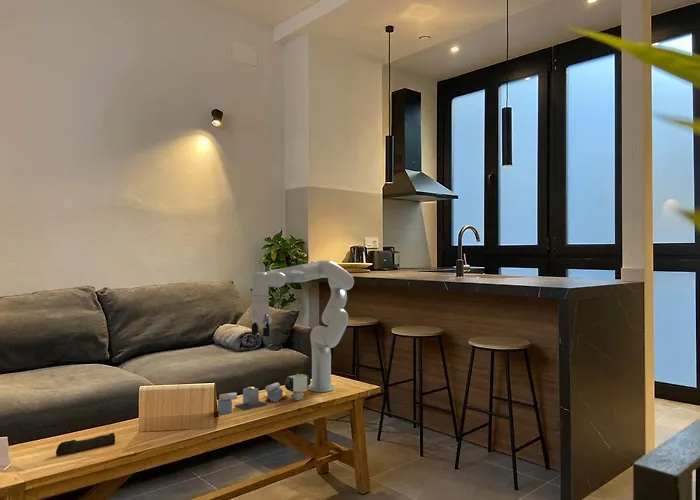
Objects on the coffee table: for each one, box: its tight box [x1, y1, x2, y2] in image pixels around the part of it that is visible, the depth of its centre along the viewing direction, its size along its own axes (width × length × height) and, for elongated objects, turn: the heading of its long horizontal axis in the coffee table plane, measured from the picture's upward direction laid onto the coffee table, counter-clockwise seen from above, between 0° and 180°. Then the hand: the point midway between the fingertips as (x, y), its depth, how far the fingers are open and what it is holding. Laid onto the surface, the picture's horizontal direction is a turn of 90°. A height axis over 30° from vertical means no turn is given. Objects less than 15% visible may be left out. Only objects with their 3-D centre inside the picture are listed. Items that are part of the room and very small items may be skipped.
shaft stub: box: [217, 392, 238, 415], centre depth 230 cm, size 8×5×8 cm, turn 117°
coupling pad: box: [234, 400, 268, 411], centre depth 238 cm, size 12×8×1 cm, turn 132°
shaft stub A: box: [265, 382, 284, 403], centre depth 245 cm, size 8×5×8 cm, turn 147°
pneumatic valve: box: [284, 373, 312, 401], centre depth 248 cm, size 6×12×12 cm, turn 127°
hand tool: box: [55, 432, 116, 457], centre depth 187 cm, size 19×4×5 cm, turn 128°
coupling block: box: [242, 386, 260, 407], centre depth 238 cm, size 5×5×8 cm
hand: (260, 334), depth 247 cm, fingers open, 9 cm apart
